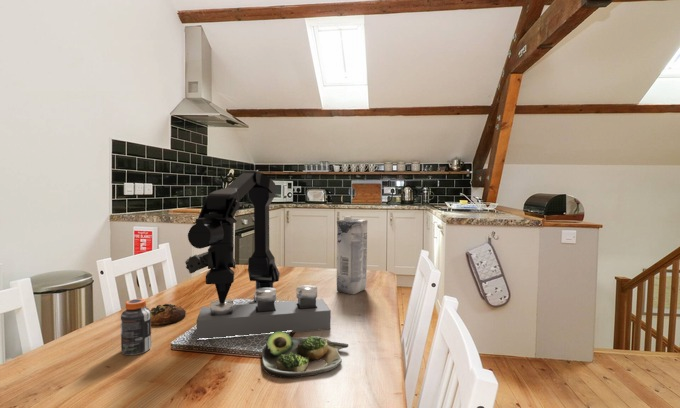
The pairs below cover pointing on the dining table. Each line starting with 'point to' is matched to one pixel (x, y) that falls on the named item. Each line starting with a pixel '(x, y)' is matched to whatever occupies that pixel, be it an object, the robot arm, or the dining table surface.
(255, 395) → the dining table surface
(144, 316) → the pill bottle
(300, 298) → the plunger
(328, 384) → the dining table surface
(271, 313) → the console
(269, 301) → the plunger middle
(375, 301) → the dining table surface
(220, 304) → the plunger
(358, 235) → the juice carton
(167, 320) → the bread roll
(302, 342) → the salad plate
